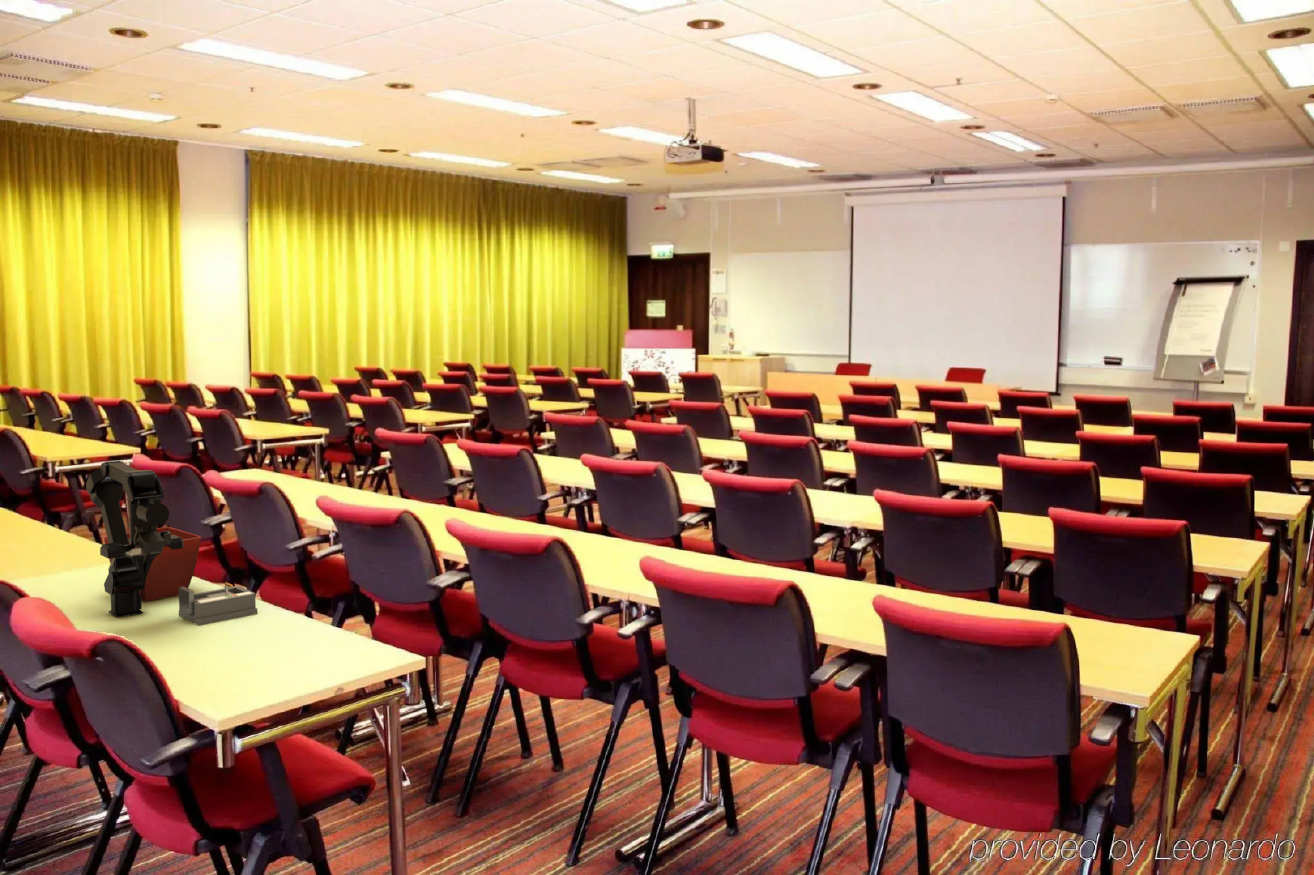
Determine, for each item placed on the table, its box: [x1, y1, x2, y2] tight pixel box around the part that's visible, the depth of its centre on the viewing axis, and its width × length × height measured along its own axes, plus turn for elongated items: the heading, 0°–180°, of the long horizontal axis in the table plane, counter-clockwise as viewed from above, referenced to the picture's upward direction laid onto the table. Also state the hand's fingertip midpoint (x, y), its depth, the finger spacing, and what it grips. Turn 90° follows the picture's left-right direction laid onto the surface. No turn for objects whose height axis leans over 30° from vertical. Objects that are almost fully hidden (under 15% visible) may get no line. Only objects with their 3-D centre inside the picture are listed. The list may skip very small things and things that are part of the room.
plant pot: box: [103, 526, 202, 602], centre depth 297 cm, size 19×19×17 cm
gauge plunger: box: [178, 582, 234, 615], centre depth 277 cm, size 13×9×7 cm
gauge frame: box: [178, 585, 258, 626], centre depth 280 cm, size 16×12×6 cm
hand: (143, 579), depth 268 cm, fingers closed
